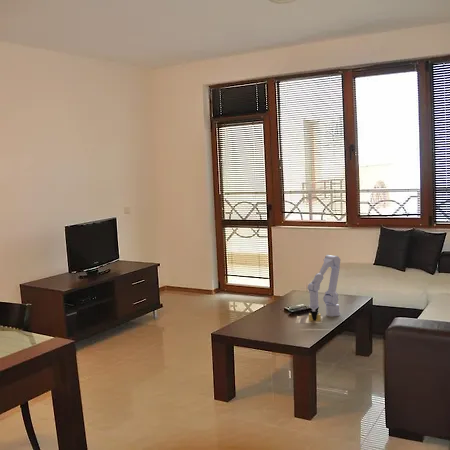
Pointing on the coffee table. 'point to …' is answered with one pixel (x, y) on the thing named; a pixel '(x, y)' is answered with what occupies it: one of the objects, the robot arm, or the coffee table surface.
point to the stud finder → (316, 318)
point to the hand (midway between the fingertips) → (314, 318)
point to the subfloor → (306, 320)
